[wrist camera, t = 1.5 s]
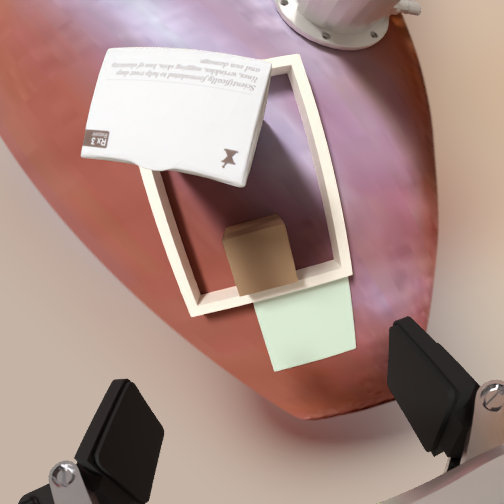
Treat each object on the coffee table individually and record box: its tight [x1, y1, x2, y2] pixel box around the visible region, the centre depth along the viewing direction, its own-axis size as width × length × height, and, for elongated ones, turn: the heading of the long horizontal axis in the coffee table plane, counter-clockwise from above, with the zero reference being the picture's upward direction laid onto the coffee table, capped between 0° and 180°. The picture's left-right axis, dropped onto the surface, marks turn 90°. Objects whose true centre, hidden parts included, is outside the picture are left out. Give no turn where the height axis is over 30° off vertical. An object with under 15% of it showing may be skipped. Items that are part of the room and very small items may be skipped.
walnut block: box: [222, 214, 298, 297], centre depth 25 cm, size 5×5×5 cm
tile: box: [253, 276, 356, 372], centre depth 30 cm, size 10×10×1 cm
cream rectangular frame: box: [139, 54, 353, 317], centre depth 24 cm, size 16×21×2 cm
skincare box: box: [81, 47, 272, 187], centre depth 17 cm, size 8×6×15 cm
